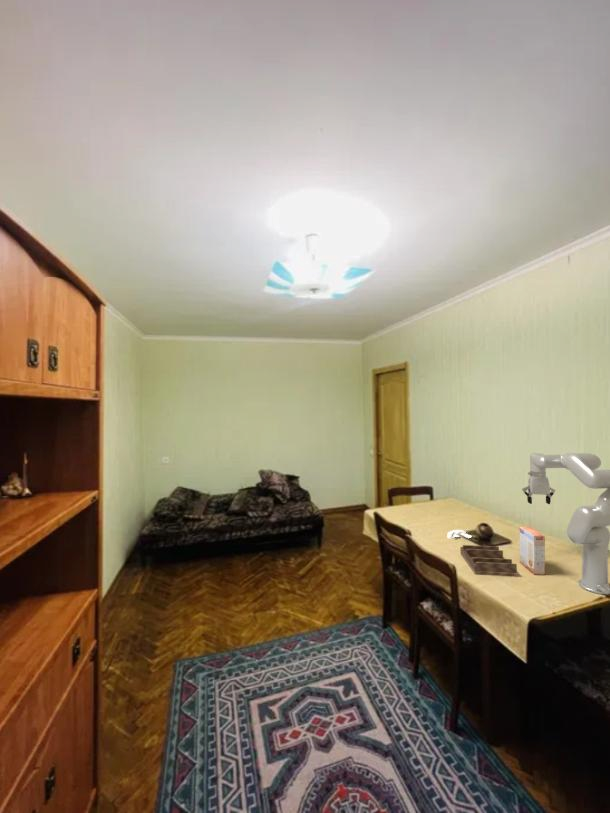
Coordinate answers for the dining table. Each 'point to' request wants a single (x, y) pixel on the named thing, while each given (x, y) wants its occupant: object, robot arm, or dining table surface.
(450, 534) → the cloth
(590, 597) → the dining table surface
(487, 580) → the dining table surface
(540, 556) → the cracker box
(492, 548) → the rack
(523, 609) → the dining table surface
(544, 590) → the dining table surface
